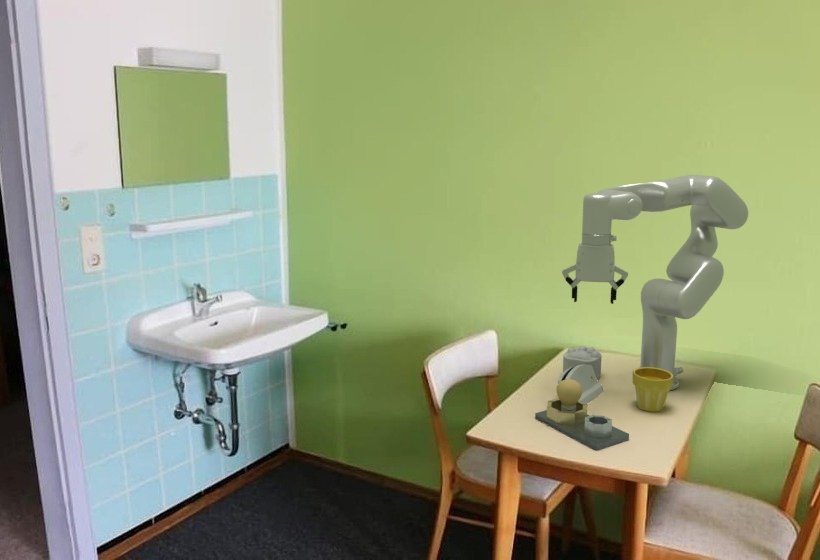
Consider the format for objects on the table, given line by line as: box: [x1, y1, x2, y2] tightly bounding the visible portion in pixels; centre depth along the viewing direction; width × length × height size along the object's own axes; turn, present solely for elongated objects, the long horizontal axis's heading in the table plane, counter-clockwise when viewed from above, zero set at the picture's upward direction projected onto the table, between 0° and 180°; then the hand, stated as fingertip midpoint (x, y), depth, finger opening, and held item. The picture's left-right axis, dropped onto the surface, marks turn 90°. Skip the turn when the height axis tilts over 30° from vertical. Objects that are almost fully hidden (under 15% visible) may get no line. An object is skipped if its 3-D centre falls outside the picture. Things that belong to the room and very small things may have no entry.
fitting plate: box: [534, 397, 630, 451], centre depth 177 cm, size 11×22×4 cm, turn 31°
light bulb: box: [556, 379, 582, 412], centre depth 180 cm, size 6×6×10 cm
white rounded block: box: [557, 364, 605, 405], centre depth 198 cm, size 17×5×10 cm, turn 141°
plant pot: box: [632, 367, 673, 413], centre depth 189 cm, size 10×10×10 cm
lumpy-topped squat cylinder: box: [562, 345, 603, 381], centre depth 214 cm, size 10×13×9 cm
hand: (593, 301), depth 190 cm, fingers open, 9 cm apart
